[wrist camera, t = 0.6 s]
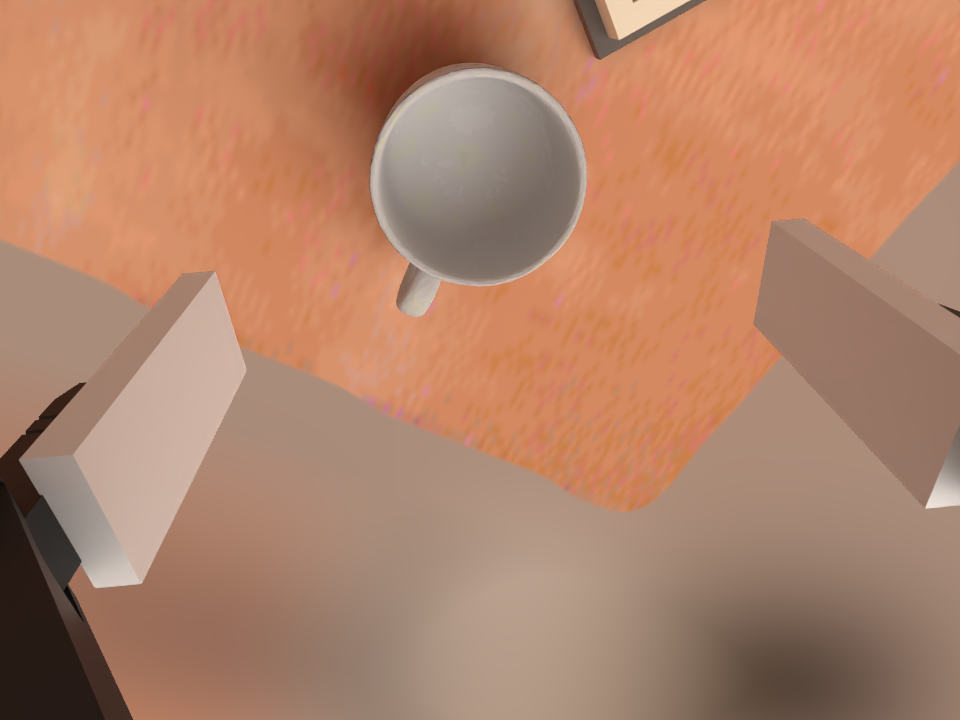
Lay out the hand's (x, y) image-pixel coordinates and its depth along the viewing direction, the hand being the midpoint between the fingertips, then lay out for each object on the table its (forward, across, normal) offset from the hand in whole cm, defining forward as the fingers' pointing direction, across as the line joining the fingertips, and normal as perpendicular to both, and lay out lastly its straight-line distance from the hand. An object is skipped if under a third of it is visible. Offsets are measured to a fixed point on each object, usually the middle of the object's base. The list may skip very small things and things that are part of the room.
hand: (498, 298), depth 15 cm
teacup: (+25, -1, -3) cm, 25 cm away
